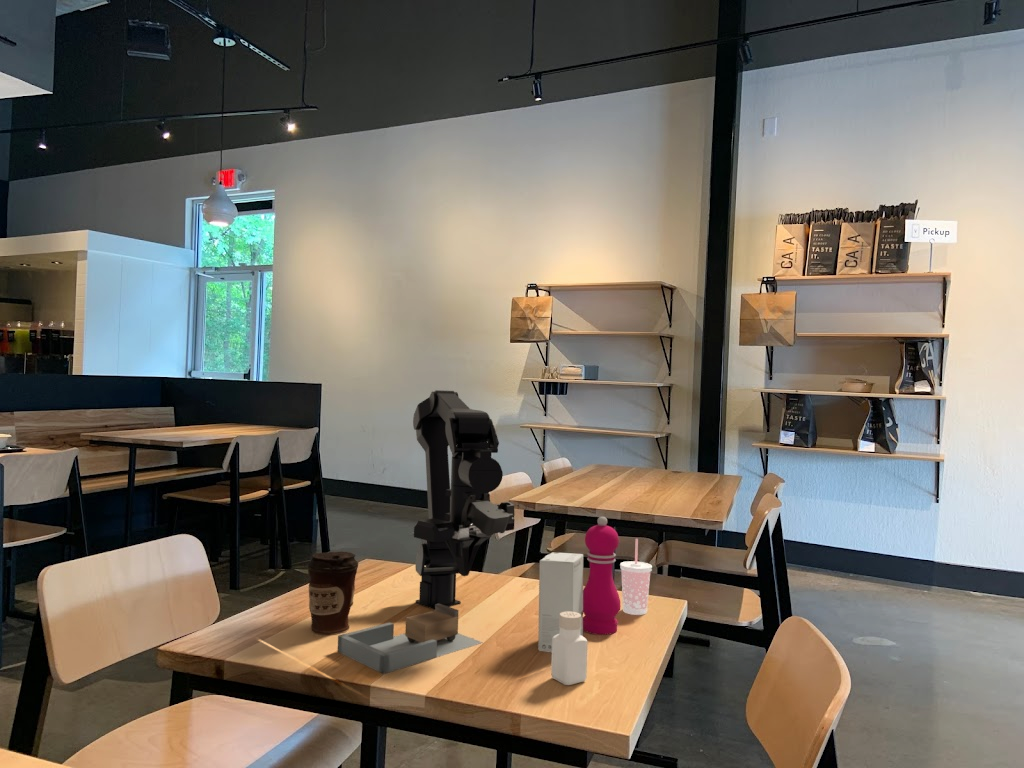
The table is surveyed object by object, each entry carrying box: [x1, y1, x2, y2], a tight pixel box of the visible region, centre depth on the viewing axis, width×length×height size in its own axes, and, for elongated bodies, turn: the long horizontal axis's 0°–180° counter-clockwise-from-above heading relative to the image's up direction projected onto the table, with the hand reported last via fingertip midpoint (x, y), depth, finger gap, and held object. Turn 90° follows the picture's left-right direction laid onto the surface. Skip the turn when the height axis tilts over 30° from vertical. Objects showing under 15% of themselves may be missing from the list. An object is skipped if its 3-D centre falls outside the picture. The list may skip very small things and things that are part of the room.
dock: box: [337, 622, 484, 675], centre depth 116 cm, size 20×12×3 cm, turn 136°
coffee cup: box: [307, 551, 359, 636], centre depth 124 cm, size 9×8×13 cm
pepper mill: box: [583, 516, 622, 636], centre depth 129 cm, size 7×7×20 cm
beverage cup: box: [619, 538, 653, 616], centre depth 141 cm, size 6×6×14 cm
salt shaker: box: [550, 611, 588, 686], centre depth 106 cm, size 4×4×10 cm
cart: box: [404, 604, 459, 643], centre depth 119 cm, size 7×5×5 cm
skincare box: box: [537, 551, 584, 653], centre depth 120 cm, size 8×6×15 cm
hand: (464, 575), depth 125 cm, fingers closed
